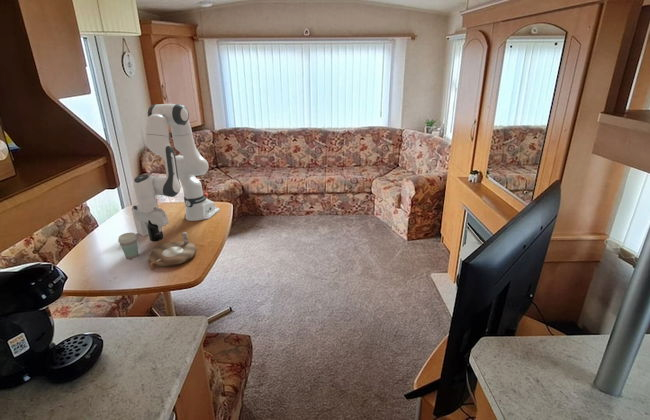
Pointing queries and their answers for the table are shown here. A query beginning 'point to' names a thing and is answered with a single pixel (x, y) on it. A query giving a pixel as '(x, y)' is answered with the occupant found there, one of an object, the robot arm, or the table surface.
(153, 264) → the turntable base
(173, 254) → the turntable
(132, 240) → the coffee cup
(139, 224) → the milk carton
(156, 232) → the supplement bottle
